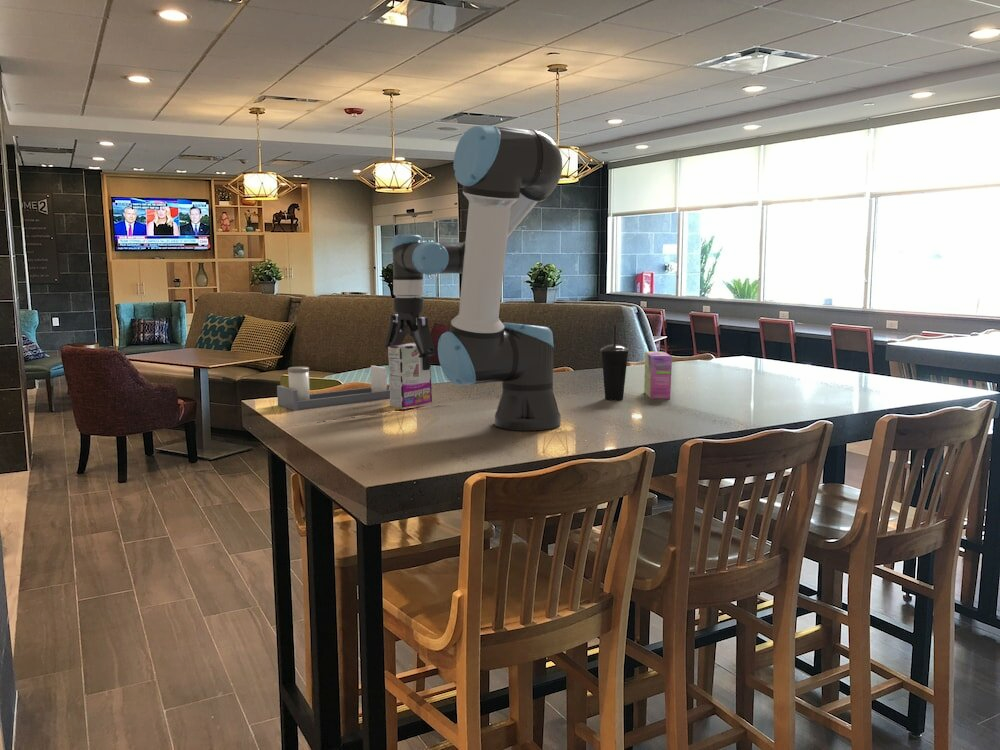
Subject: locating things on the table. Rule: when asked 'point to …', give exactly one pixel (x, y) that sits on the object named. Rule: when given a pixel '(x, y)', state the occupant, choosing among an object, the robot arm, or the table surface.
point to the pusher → (378, 379)
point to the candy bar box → (406, 377)
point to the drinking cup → (614, 369)
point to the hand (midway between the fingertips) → (409, 379)
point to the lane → (328, 398)
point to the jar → (299, 382)
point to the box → (657, 375)
